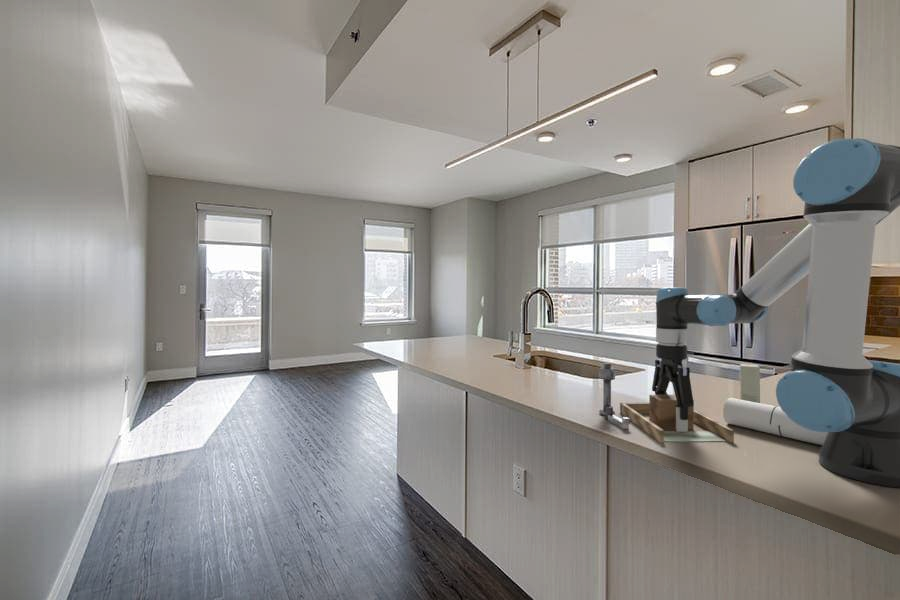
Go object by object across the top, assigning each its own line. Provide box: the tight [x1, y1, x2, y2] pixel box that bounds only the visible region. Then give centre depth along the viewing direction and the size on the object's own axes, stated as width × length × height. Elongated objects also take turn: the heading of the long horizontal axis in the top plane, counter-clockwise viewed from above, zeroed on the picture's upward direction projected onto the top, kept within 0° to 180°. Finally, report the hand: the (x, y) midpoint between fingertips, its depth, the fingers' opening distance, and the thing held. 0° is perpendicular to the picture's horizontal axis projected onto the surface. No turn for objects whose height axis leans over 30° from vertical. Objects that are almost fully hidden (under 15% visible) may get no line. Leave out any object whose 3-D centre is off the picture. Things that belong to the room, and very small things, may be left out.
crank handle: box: [605, 405, 631, 430], centre depth 118 cm, size 10×2×4 cm, turn 9°
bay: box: [619, 402, 735, 444], centre depth 116 cm, size 25×18×3 cm
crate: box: [648, 394, 695, 431], centre depth 116 cm, size 6×9×8 cm, turn 89°
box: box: [739, 363, 761, 403], centre depth 136 cm, size 5×4×13 cm
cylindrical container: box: [723, 397, 828, 447], centre depth 108 cm, size 7×7×25 cm
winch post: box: [598, 362, 616, 417], centre depth 127 cm, size 4×4×15 cm
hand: (671, 424), depth 116 cm, fingers open, 10 cm apart
